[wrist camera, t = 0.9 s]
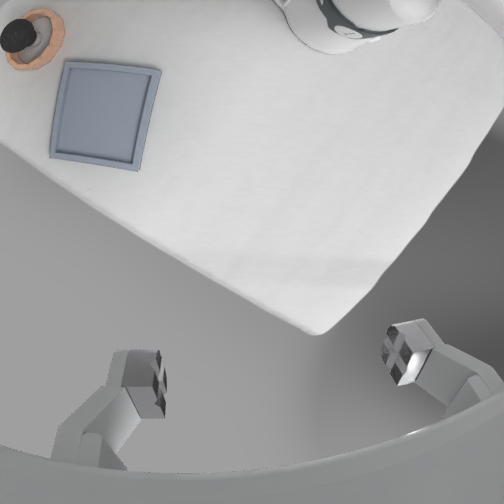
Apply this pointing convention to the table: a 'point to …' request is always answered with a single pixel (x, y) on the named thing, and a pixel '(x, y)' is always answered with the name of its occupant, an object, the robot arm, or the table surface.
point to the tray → (103, 114)
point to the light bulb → (19, 36)
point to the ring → (51, 48)
